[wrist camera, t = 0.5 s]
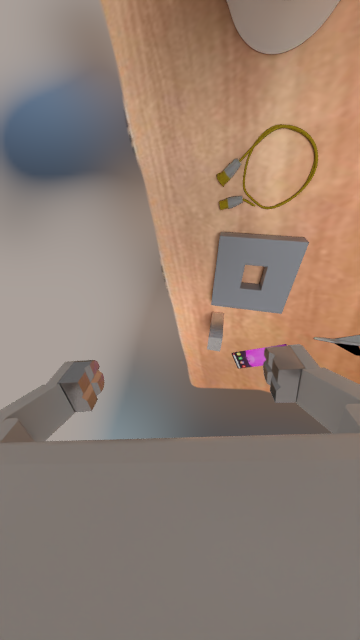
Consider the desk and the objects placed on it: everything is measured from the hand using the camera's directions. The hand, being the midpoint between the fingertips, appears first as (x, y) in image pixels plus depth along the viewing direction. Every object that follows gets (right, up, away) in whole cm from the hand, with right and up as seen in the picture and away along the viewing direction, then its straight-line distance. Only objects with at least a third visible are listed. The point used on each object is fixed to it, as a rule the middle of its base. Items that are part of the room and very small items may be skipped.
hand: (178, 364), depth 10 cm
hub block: (+16, +13, +36) cm, 42 cm away
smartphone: (+24, -8, +51) cm, 57 cm away
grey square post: (+10, +3, +46) cm, 47 cm away
